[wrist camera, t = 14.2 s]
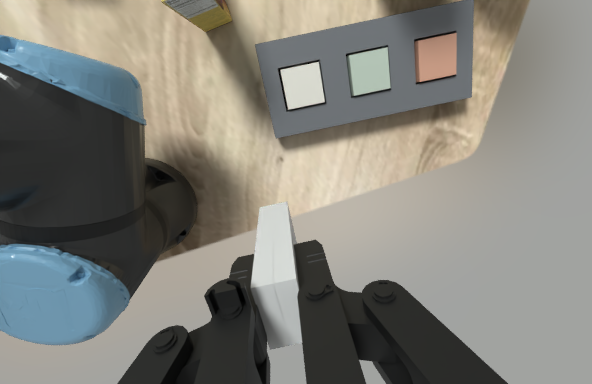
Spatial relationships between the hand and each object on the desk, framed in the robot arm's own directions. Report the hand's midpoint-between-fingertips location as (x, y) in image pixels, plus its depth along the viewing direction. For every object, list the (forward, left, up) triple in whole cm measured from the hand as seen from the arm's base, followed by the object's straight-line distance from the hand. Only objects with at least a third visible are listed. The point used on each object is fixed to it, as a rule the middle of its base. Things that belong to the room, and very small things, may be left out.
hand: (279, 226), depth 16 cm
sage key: (+14, +6, -29) cm, 33 cm away
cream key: (+5, +6, -29) cm, 30 cm away
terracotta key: (+23, +6, -29) cm, 38 cm away
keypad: (+14, +6, -29) cm, 33 cm away
